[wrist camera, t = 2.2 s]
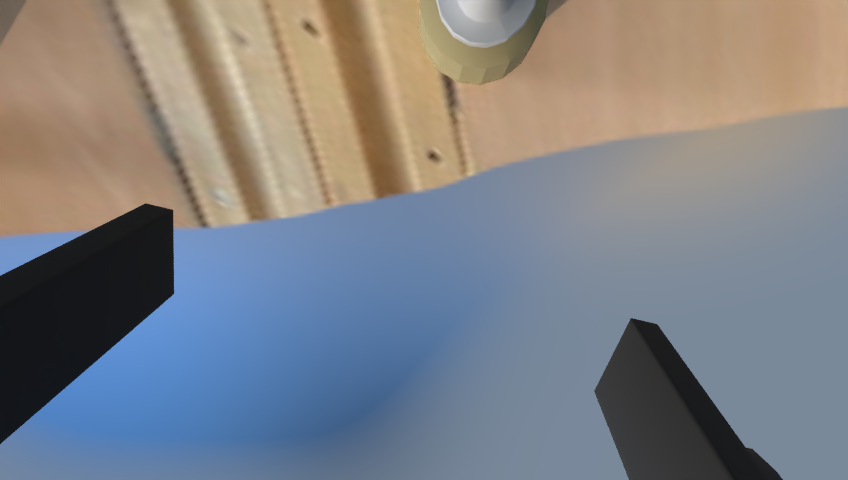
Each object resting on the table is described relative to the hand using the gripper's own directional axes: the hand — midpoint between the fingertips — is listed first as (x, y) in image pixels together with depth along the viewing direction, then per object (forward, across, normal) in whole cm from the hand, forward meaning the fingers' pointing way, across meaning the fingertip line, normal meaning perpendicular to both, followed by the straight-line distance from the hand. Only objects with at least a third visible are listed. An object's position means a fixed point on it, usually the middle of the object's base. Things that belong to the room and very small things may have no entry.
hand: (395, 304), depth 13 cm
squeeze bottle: (+26, +1, +8) cm, 28 cm away
